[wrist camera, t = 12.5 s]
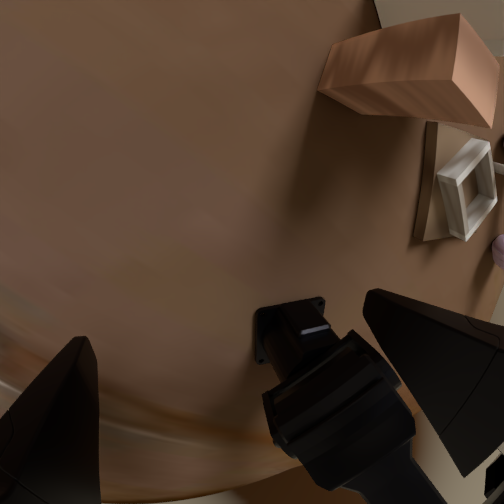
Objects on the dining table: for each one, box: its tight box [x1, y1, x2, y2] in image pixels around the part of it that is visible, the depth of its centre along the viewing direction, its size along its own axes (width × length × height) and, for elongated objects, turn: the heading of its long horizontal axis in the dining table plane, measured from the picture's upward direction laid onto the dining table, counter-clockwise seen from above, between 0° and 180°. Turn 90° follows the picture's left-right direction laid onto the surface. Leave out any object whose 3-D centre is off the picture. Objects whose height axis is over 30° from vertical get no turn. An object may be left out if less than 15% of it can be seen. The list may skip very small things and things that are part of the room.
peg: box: [317, 13, 500, 129], centre depth 14 cm, size 4×4×12 cm
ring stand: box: [413, 121, 504, 242], centre depth 22 cm, size 12×12×10 cm
